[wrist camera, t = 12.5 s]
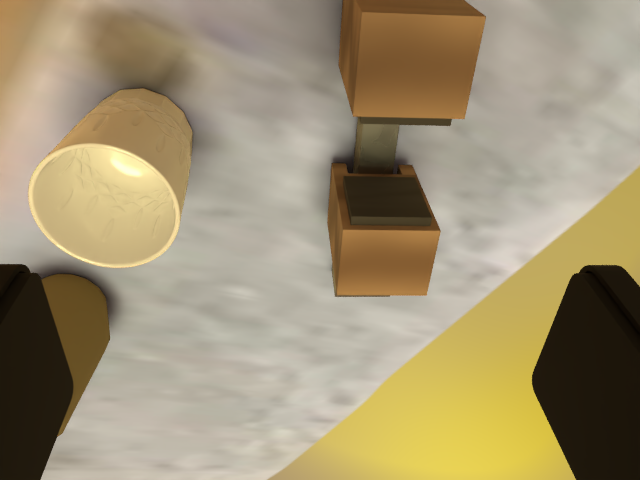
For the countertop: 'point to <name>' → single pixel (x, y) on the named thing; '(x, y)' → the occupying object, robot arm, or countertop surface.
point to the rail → (373, 159)
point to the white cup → (116, 181)
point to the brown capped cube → (380, 233)
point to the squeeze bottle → (78, 328)
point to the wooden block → (409, 59)
